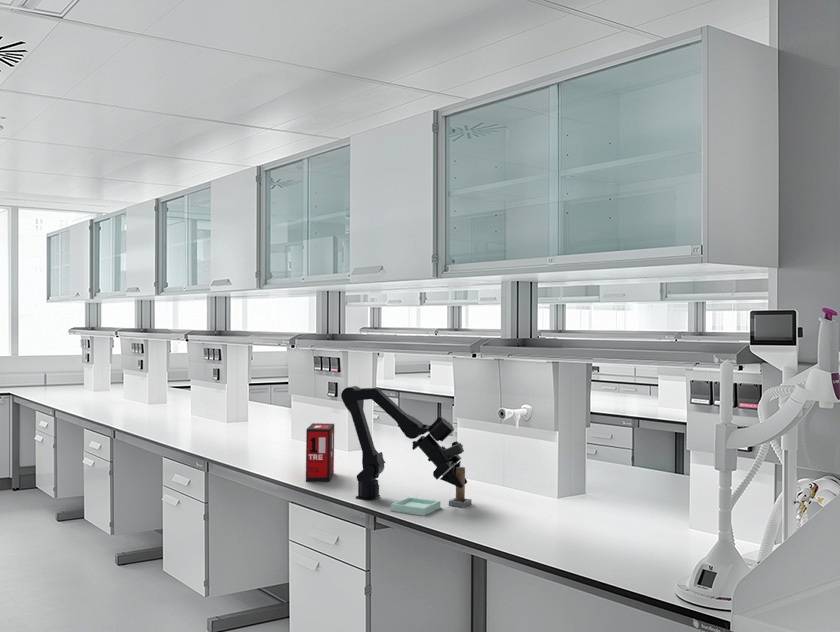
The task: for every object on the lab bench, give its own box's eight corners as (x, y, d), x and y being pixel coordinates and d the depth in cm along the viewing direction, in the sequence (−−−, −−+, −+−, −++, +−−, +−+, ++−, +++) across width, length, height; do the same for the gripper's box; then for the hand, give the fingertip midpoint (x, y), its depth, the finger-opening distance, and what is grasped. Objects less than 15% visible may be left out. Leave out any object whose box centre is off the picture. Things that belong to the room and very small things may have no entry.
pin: (454, 505, 259) (454, 468, 259) (457, 503, 262) (458, 466, 262) (462, 506, 258) (462, 468, 258) (465, 504, 260) (466, 467, 260)
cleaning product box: (311, 473, 310) (312, 423, 310) (333, 473, 310) (334, 423, 310) (305, 481, 293) (306, 429, 293) (329, 482, 293) (329, 429, 293)
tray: (390, 510, 250) (391, 504, 250) (408, 503, 261) (408, 496, 261) (423, 515, 245) (423, 508, 245) (440, 507, 255) (440, 501, 255)
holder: (448, 505, 258) (448, 500, 258) (455, 502, 263) (455, 497, 264) (464, 507, 256) (464, 502, 256) (471, 504, 261) (471, 499, 261)
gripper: (443, 438, 252) (475, 474, 249) (455, 430, 270) (486, 464, 267) (419, 461, 254) (451, 497, 251) (433, 452, 272) (463, 485, 269)
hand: (464, 485), depth 259 cm, fingers open, 6 cm apart
